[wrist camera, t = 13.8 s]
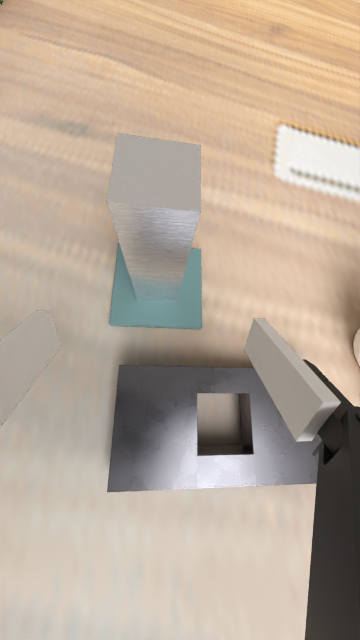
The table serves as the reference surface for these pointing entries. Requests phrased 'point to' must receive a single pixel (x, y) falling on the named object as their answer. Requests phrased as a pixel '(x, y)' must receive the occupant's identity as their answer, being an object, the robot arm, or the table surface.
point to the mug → (357, 346)
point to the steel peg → (155, 211)
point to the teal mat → (155, 312)
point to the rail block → (181, 433)
